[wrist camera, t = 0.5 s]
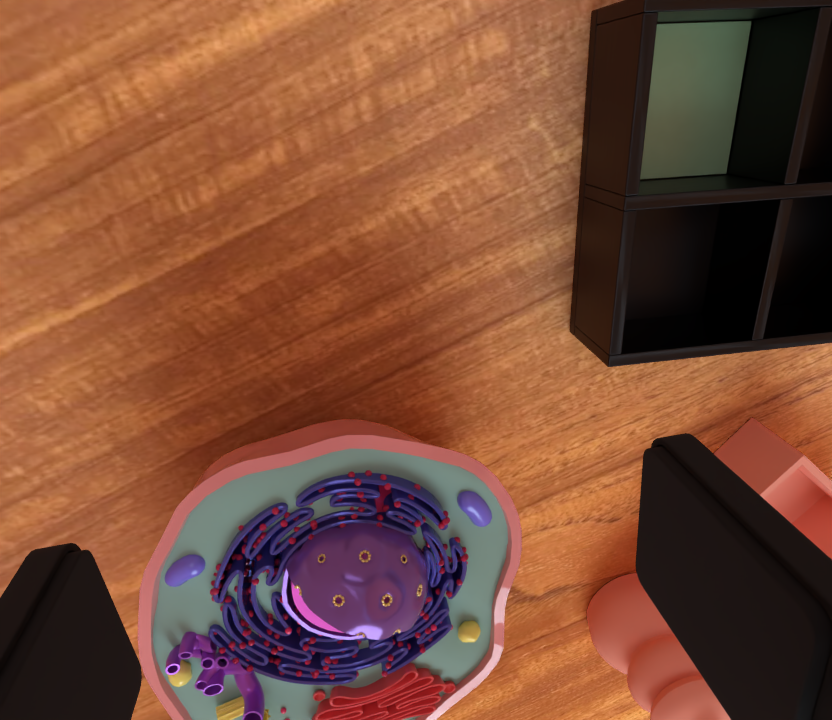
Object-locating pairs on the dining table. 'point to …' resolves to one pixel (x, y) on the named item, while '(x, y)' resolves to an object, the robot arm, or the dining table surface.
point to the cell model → (330, 580)
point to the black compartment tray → (705, 180)
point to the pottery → (642, 622)
